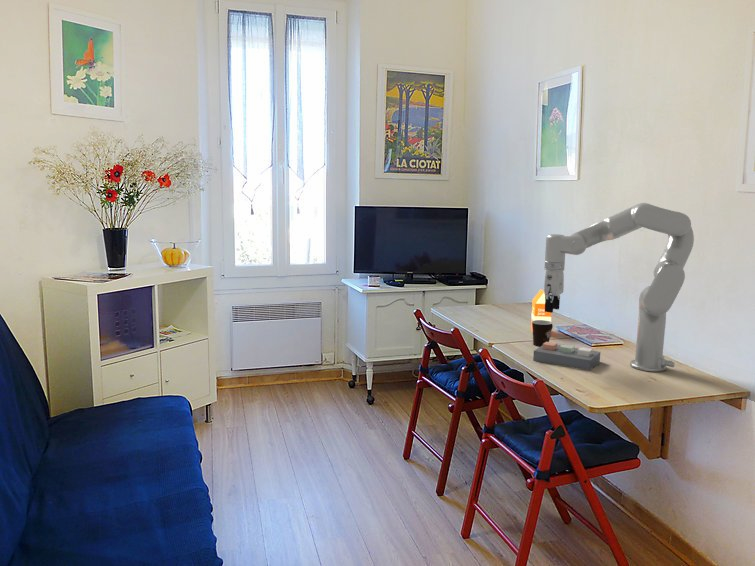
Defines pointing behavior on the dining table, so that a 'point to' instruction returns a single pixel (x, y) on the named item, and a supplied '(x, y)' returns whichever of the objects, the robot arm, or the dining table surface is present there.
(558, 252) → the robot arm
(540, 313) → the orange juice
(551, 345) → the key terracotta
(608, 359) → the dining table surface
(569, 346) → the key sage
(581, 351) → the key cream
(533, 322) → the coffee mug
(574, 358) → the grey button panel
